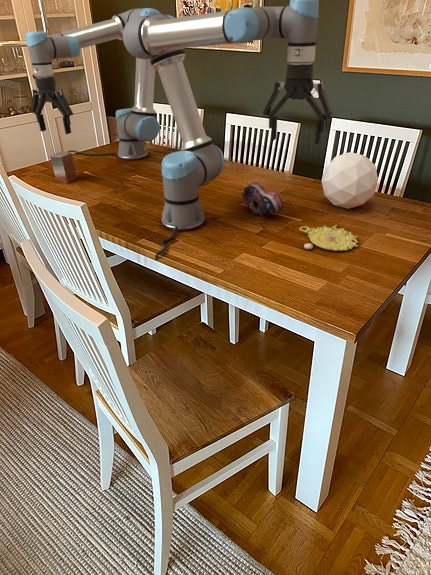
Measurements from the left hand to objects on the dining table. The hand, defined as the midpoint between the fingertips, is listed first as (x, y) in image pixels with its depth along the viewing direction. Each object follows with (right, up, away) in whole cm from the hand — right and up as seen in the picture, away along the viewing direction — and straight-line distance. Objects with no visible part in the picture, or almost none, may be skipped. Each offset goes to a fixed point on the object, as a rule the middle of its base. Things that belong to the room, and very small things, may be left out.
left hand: (55, 132), depth 186 cm
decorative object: (+103, -50, -44) cm, 123 cm away
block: (+1, -18, +11) cm, 21 cm away
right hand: (+91, -21, -52) cm, 107 cm away
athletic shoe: (+83, -37, -23) cm, 94 cm away
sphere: (+116, -35, -21) cm, 123 cm away
